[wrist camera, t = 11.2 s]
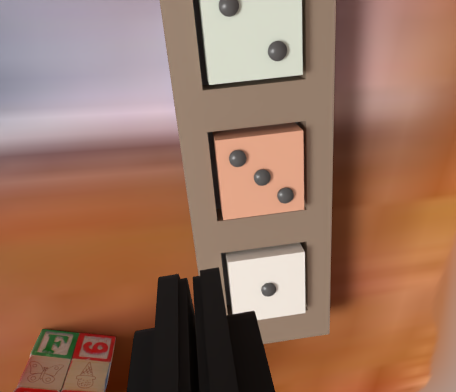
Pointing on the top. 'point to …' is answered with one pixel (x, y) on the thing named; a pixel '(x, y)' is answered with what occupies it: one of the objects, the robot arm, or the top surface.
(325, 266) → the tile panel
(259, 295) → the tile one
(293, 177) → the tile three
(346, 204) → the top surface
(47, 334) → the stack of blocks
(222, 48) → the tile two
